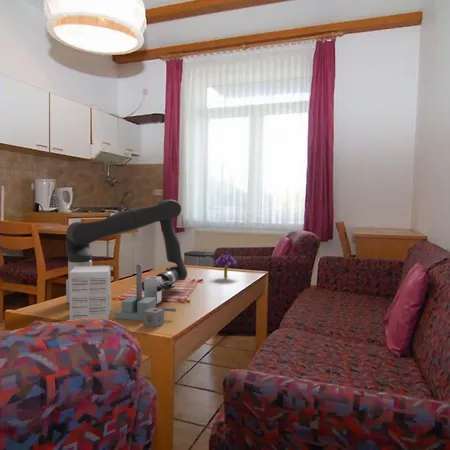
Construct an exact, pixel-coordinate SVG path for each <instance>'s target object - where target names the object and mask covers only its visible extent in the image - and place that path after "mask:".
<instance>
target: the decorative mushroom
mask: <svg viewBox="0 0 450 450" xmlns="http://www.w3.org/2000/svg"><path fill="white" fill-rule="evenodd" d="M214 263H215V264H216V265H220V266H221V265H222V266H224V267H223V268H224V269H223V278H225V279H227V278H228V268H229V266H232V265H237V263H238V262H237V260H236V259H235V258H234V257H233V256H232V255H231V254H230V253H229V252H228V251H224V253H222V254H221V255H220V256H219V257H218V258H217V259H216V260H215V261H214Z"/></svg>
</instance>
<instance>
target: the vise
mask: <svg viewBox="0 0 450 450" xmlns="http://www.w3.org/2000/svg"><path fill="white" fill-rule="evenodd" d="M135 281H136V290H135V291H136V293H135V294H136V295H135V296H134V295H130V296H129V297H127V298H125V299H123V300H121V308H120V309H119V310H117V311H116V312H115V314H114V316H115V319H122V320H123V319H124V320H136V321H144V311H145V310H147V309H150V308H152V307H153V308H159V309H164V312H176V311H177V308H175V307H174V308H173V307H160V306H157V304H156V298H153V297H145V298H144V297H143V290H142V282H143V264H141V263H138V264H136V280H135Z"/></svg>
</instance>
